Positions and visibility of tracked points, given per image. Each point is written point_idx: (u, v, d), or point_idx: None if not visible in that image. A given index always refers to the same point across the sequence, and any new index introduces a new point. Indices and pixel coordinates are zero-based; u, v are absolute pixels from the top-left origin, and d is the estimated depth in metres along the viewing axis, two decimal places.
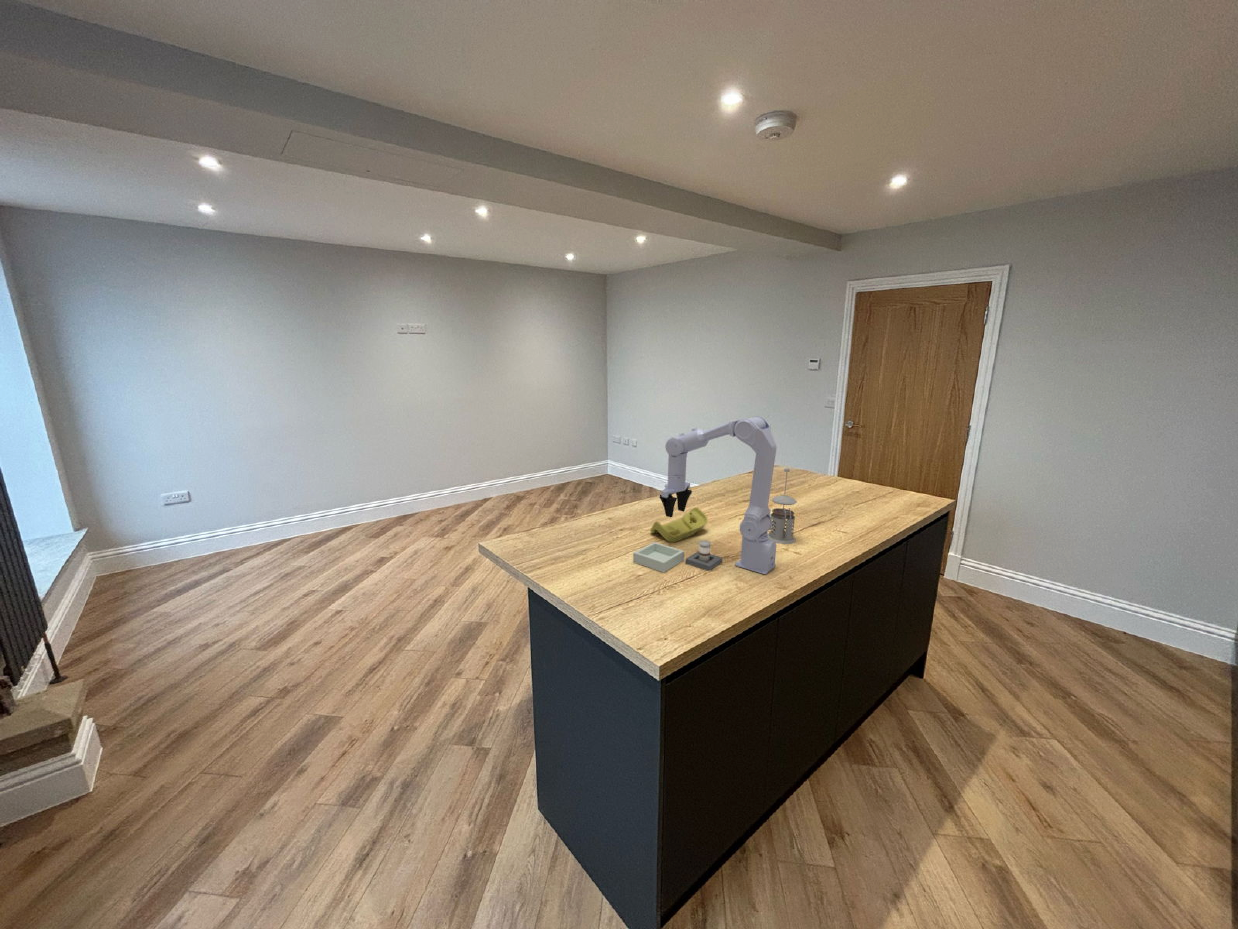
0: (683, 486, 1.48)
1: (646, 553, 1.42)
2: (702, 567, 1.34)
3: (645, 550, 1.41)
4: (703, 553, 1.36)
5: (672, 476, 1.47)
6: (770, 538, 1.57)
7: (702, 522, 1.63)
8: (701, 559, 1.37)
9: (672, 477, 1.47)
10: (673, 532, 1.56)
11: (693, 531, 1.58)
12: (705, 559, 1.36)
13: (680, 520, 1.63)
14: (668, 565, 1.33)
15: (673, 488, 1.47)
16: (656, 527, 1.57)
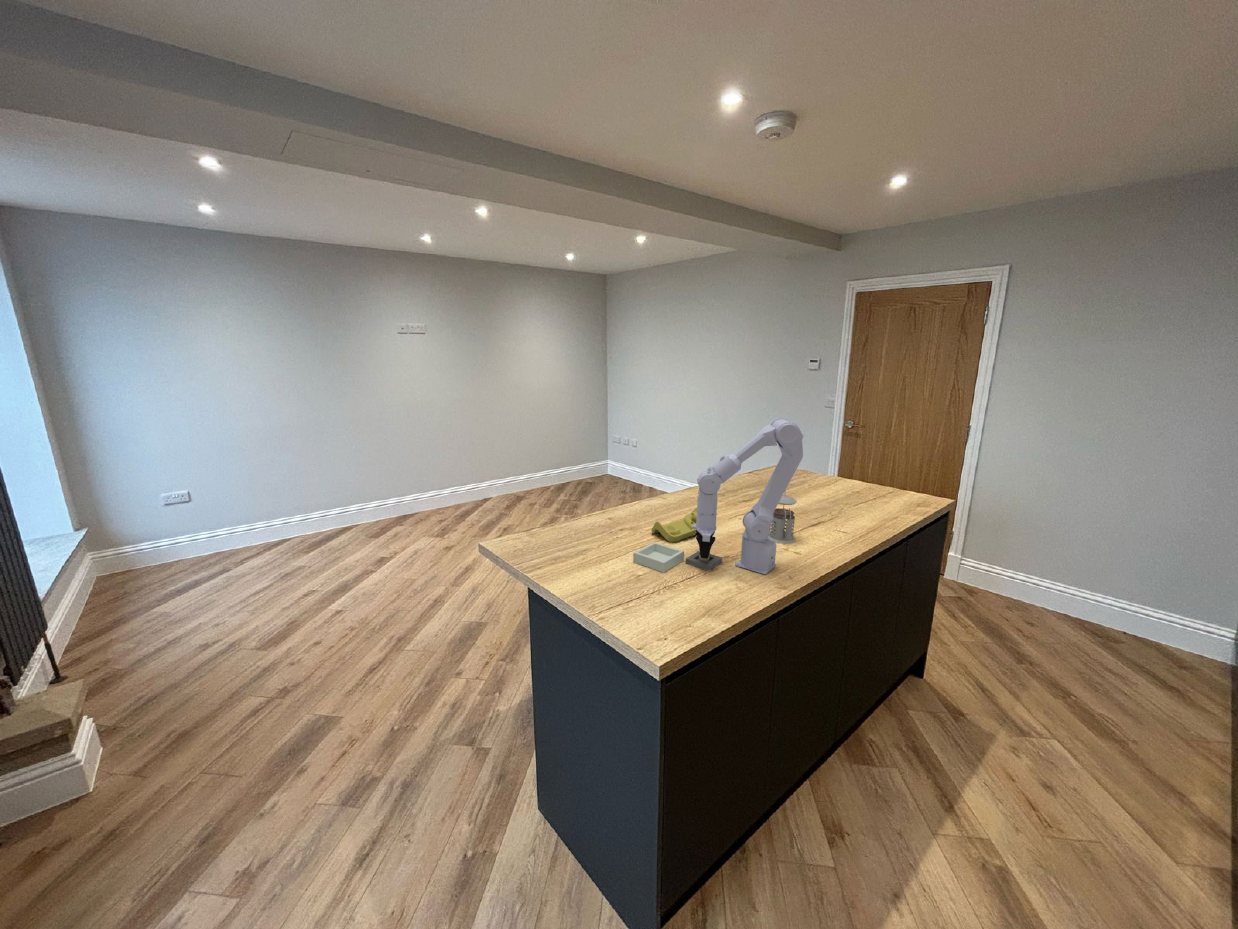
0: (715, 525, 1.35)
1: (646, 553, 1.42)
2: (702, 567, 1.34)
3: (645, 550, 1.41)
4: None
5: (707, 516, 1.32)
6: (770, 538, 1.57)
7: None
8: (701, 559, 1.37)
9: (707, 517, 1.32)
10: (674, 532, 1.56)
11: (694, 531, 1.57)
12: (705, 559, 1.36)
13: (681, 520, 1.63)
14: (668, 565, 1.33)
15: (708, 529, 1.33)
16: (657, 527, 1.57)
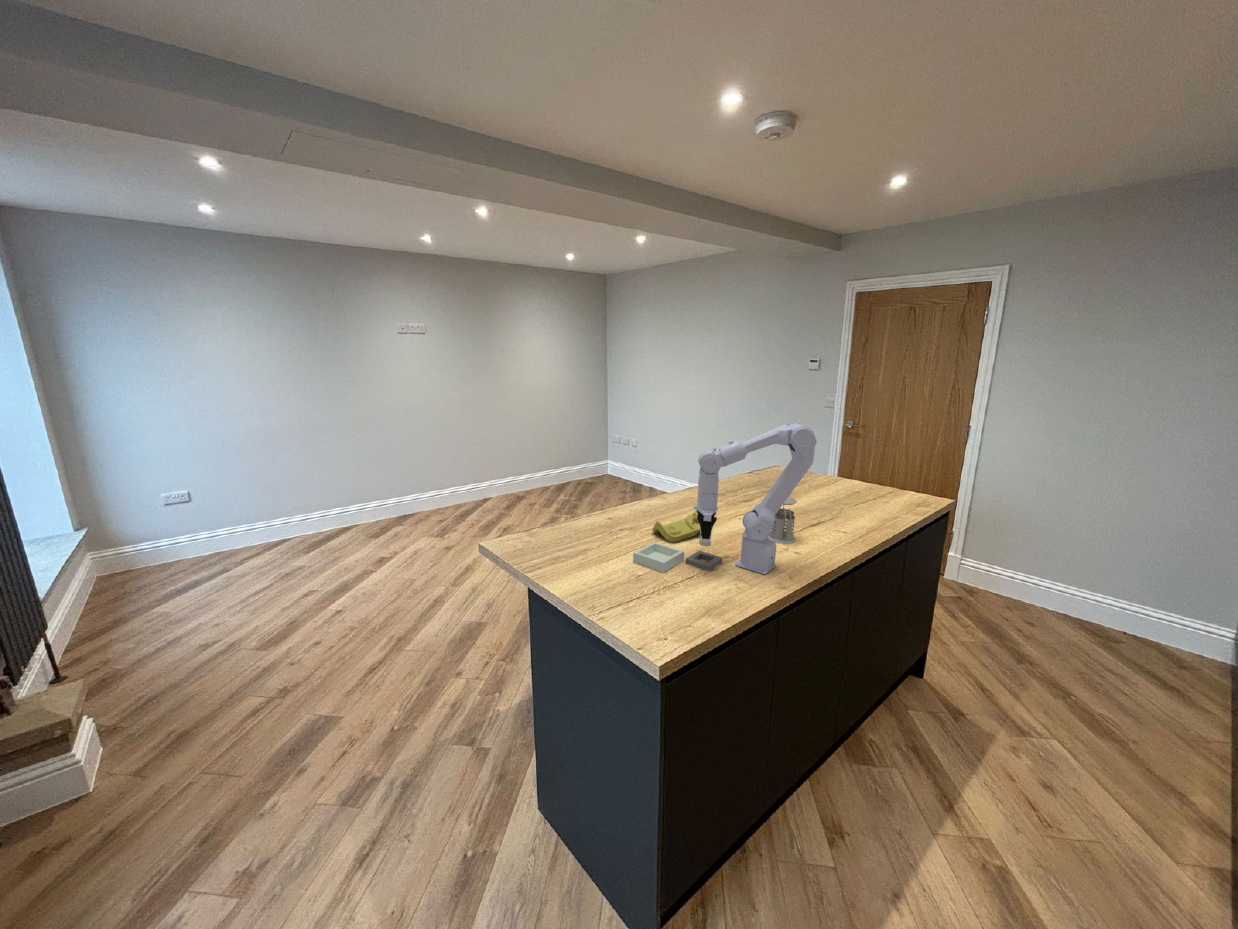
0: None
1: (646, 553, 1.42)
2: (702, 567, 1.34)
3: (645, 550, 1.41)
4: None
5: (708, 496, 1.31)
6: (770, 538, 1.57)
7: None
8: (702, 540, 1.35)
9: (708, 497, 1.31)
10: (674, 532, 1.55)
11: (695, 532, 1.57)
12: (706, 540, 1.35)
13: (683, 521, 1.63)
14: (668, 565, 1.33)
15: (709, 509, 1.32)
16: (657, 527, 1.57)
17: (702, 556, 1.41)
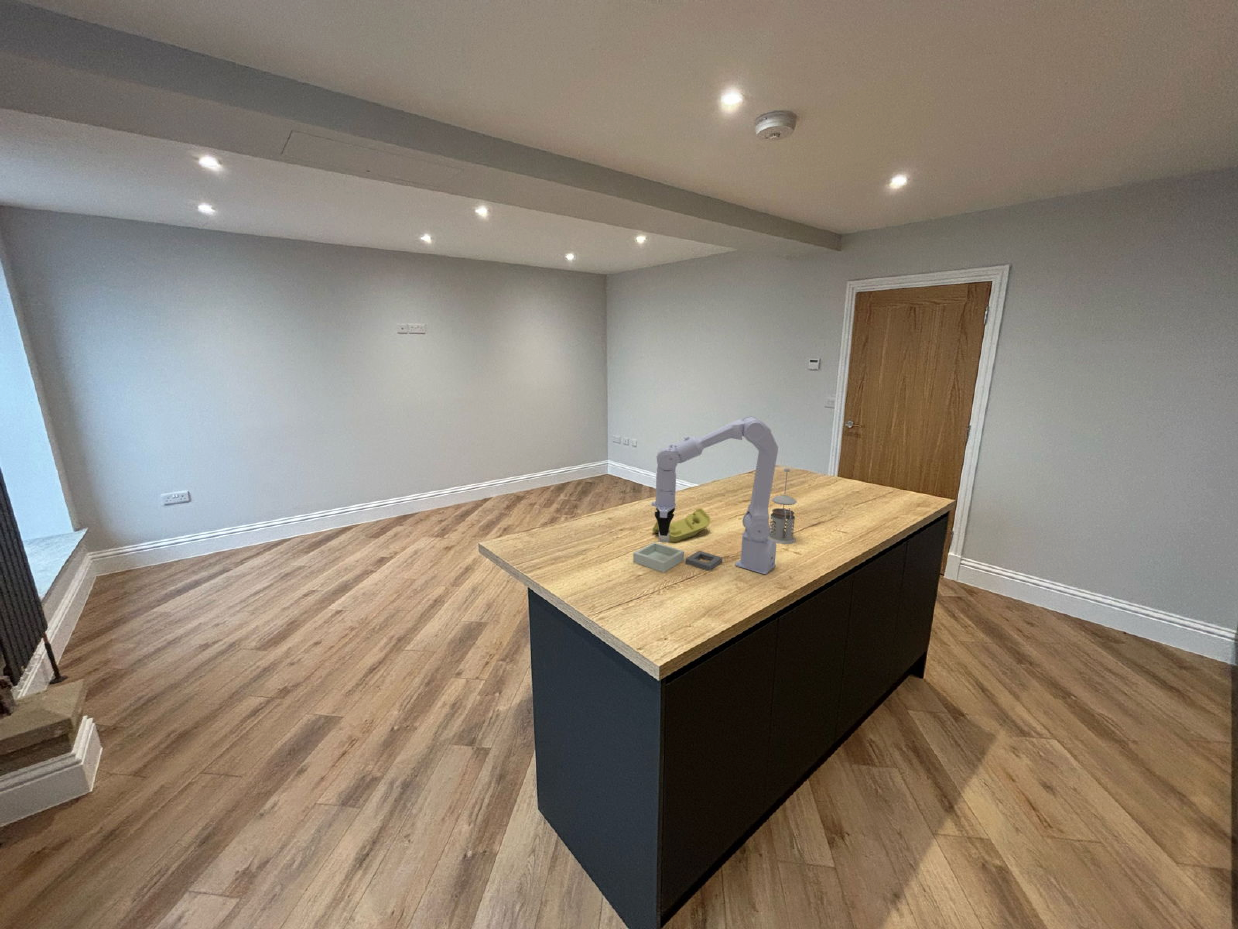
0: (674, 502, 1.34)
1: (646, 553, 1.42)
2: (702, 567, 1.34)
3: (645, 550, 1.41)
4: None
5: (665, 493, 1.32)
6: (770, 538, 1.57)
7: (705, 523, 1.62)
8: (661, 536, 1.36)
9: (665, 493, 1.32)
10: (674, 532, 1.56)
11: (695, 532, 1.57)
12: (664, 537, 1.36)
13: (683, 520, 1.63)
14: (668, 565, 1.33)
15: (666, 506, 1.32)
16: (657, 527, 1.57)
17: (702, 556, 1.41)
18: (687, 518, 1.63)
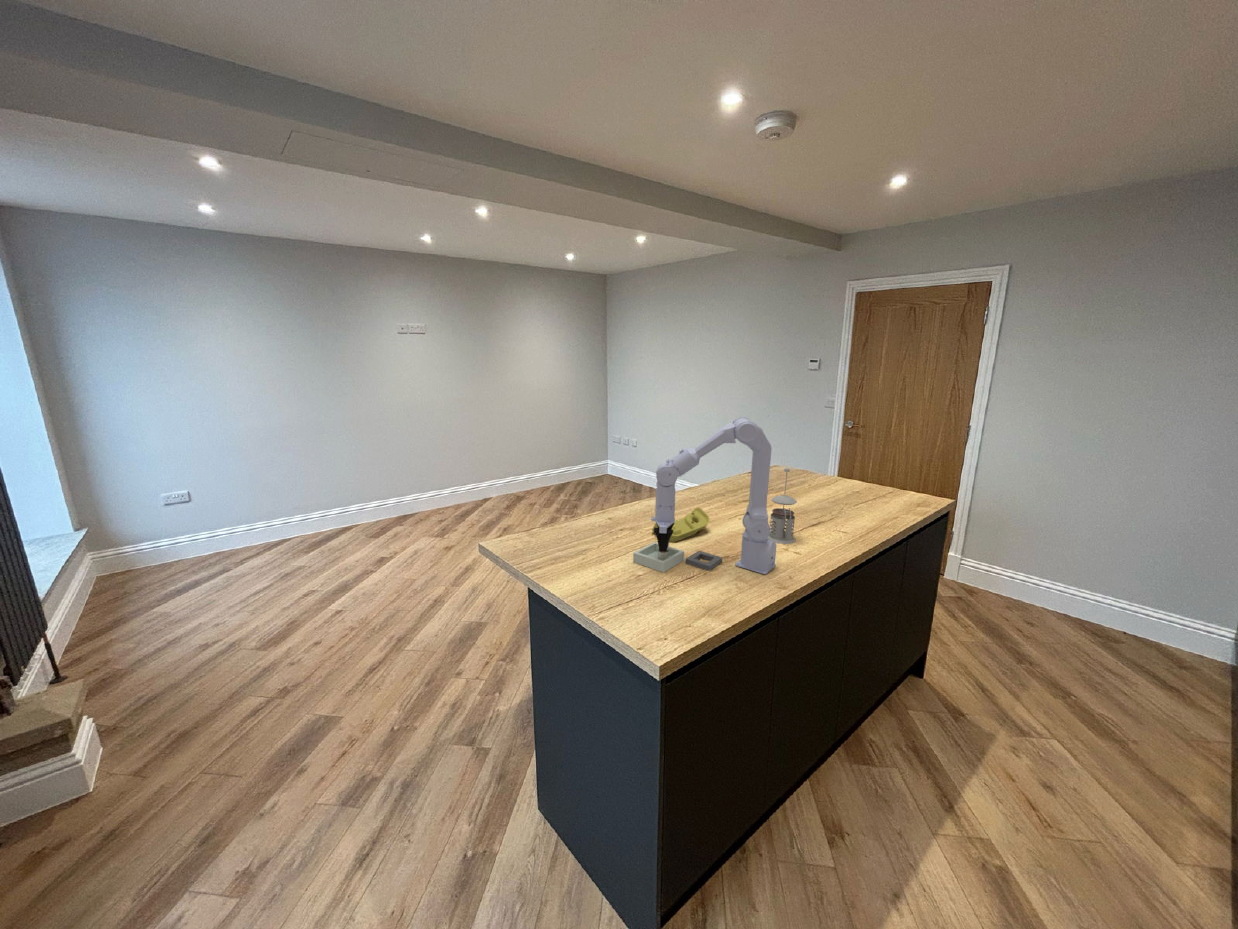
0: None
1: (646, 553, 1.42)
2: (702, 567, 1.34)
3: (645, 550, 1.41)
4: None
5: (664, 508, 1.33)
6: (770, 538, 1.57)
7: (704, 522, 1.63)
8: (660, 556, 1.38)
9: (664, 509, 1.33)
10: (674, 532, 1.56)
11: (695, 531, 1.58)
12: (664, 556, 1.37)
13: (682, 520, 1.64)
14: (668, 565, 1.33)
15: (666, 521, 1.33)
16: (657, 526, 1.57)
17: (702, 556, 1.41)
18: (686, 517, 1.63)
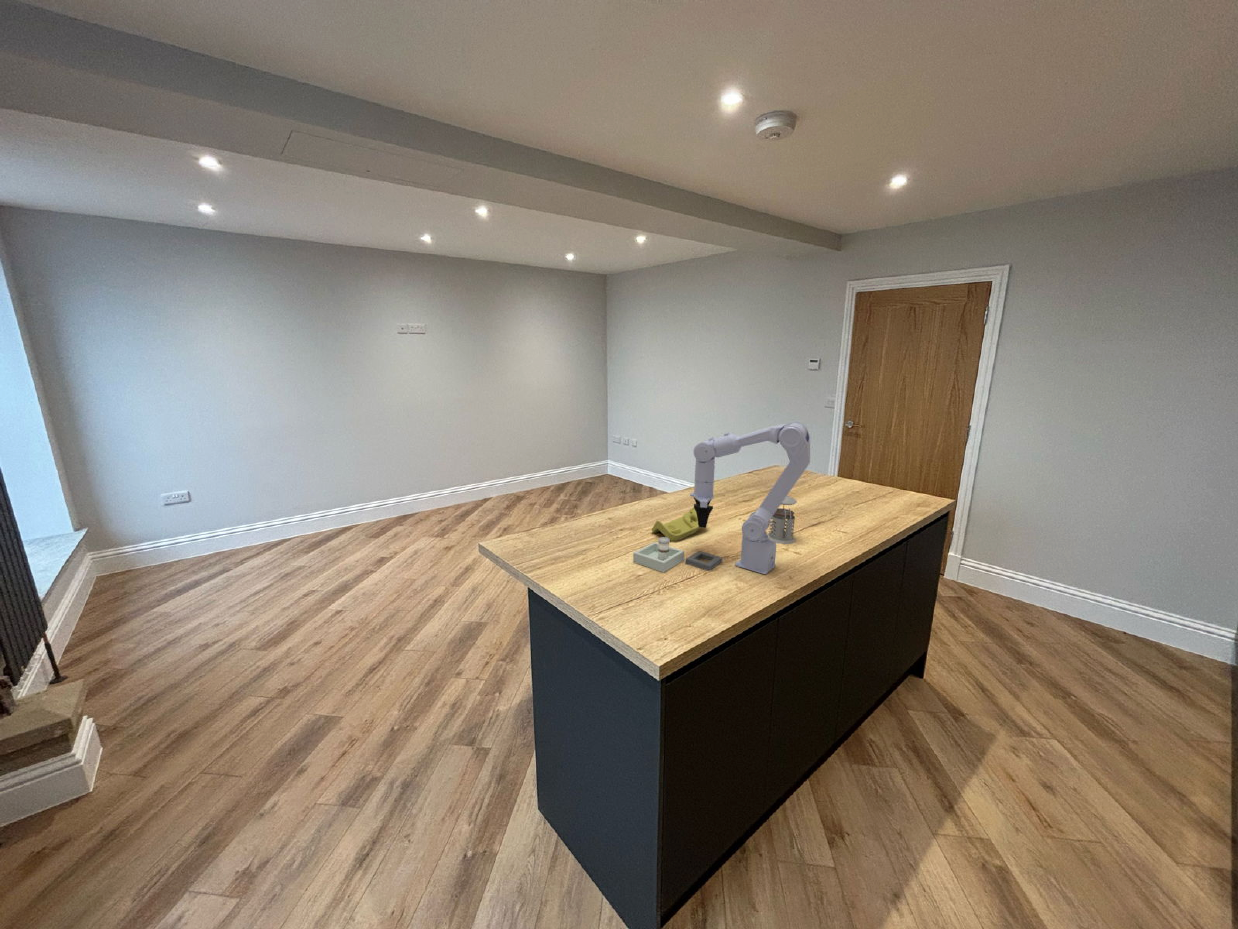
0: (712, 493, 1.39)
1: (646, 553, 1.42)
2: (702, 567, 1.34)
3: (645, 550, 1.41)
4: (662, 550, 1.37)
5: (704, 484, 1.37)
6: (770, 538, 1.57)
7: None
8: (660, 556, 1.38)
9: (704, 484, 1.37)
10: (675, 531, 1.57)
11: (694, 530, 1.59)
12: (664, 556, 1.37)
13: (681, 519, 1.64)
14: (668, 565, 1.33)
15: (705, 496, 1.37)
16: (658, 526, 1.58)
17: (702, 556, 1.41)
18: (685, 517, 1.64)
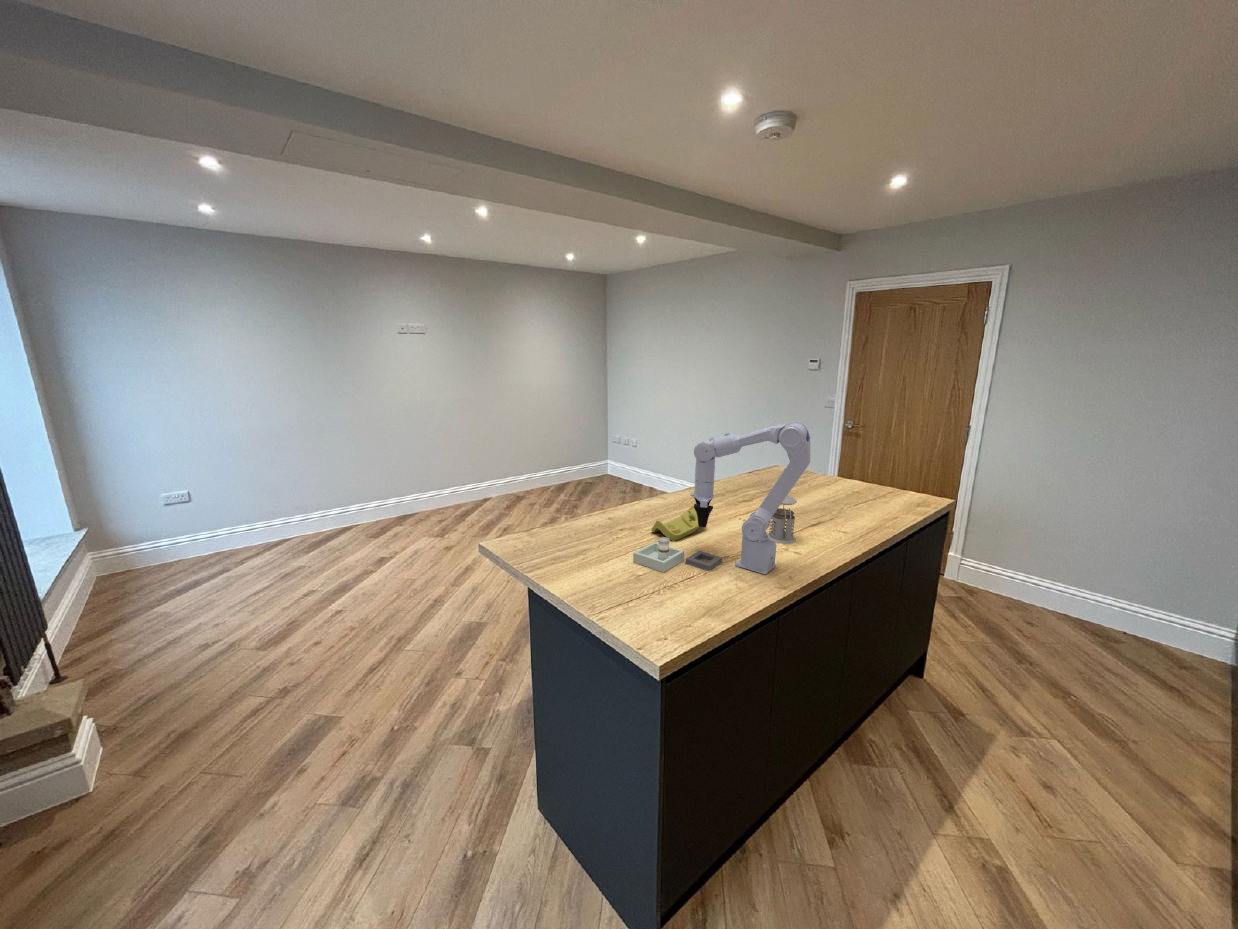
0: None
1: (646, 553, 1.42)
2: (702, 567, 1.34)
3: (645, 550, 1.41)
4: (662, 550, 1.37)
5: (704, 483, 1.37)
6: (770, 538, 1.57)
7: None
8: (660, 556, 1.38)
9: (704, 484, 1.37)
10: (675, 530, 1.57)
11: (694, 529, 1.60)
12: (664, 556, 1.37)
13: (680, 518, 1.65)
14: (668, 565, 1.33)
15: (706, 496, 1.37)
16: (658, 526, 1.58)
17: (702, 556, 1.41)
18: (684, 516, 1.65)
